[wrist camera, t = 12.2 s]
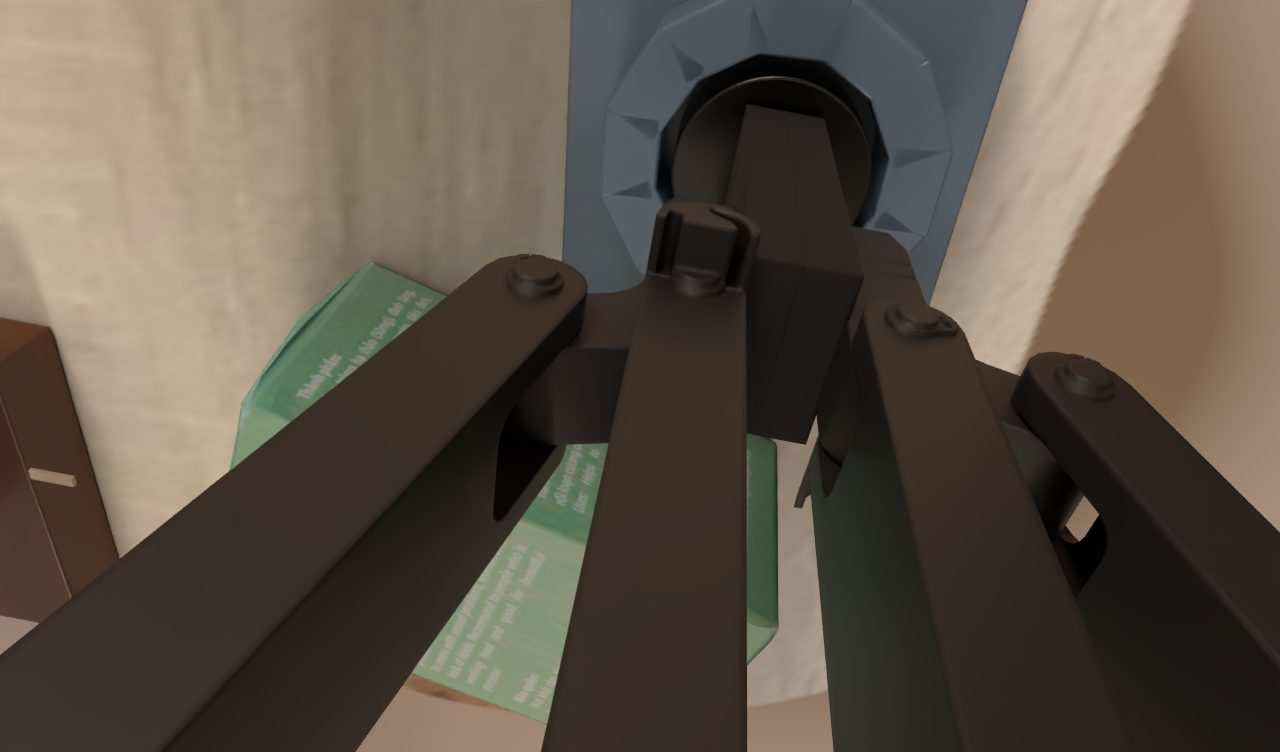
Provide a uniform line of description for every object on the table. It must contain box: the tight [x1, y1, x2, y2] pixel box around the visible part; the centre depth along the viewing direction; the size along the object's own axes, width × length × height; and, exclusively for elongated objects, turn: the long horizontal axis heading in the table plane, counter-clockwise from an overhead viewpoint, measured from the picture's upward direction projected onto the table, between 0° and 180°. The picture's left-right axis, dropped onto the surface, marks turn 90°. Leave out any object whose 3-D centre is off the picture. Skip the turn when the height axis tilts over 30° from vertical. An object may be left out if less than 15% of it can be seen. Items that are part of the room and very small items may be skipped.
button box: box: [562, 0, 1028, 306], centre depth 18 cm, size 9×9×4 cm
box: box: [229, 262, 779, 725], centre depth 23 cm, size 7×14×8 cm, turn 66°
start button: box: [670, 56, 873, 226], centre depth 17 cm, size 4×4×2 cm
